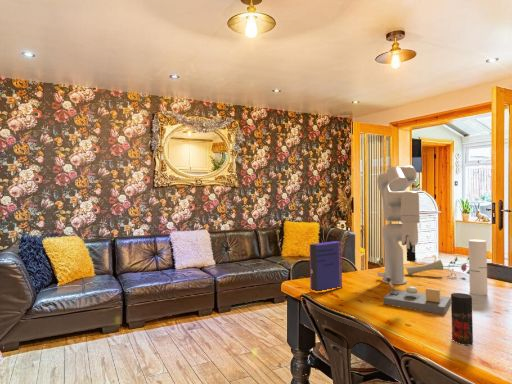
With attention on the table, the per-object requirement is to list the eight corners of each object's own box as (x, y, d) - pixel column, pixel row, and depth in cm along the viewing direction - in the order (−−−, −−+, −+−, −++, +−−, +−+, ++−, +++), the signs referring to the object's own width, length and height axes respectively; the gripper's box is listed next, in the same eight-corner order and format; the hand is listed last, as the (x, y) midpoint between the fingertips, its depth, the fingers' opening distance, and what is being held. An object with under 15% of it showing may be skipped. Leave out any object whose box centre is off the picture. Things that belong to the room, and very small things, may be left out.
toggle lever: (391, 291, 160) (384, 278, 161) (392, 290, 161) (386, 277, 163) (395, 290, 159) (388, 277, 160) (396, 289, 160) (390, 276, 162)
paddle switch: (426, 300, 148) (425, 288, 148) (427, 299, 150) (426, 287, 150) (439, 302, 145) (438, 290, 145) (440, 301, 147) (439, 289, 147)
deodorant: (448, 338, 119) (447, 293, 119) (464, 337, 119) (463, 292, 119) (459, 345, 113) (458, 298, 113) (477, 344, 113) (476, 297, 113)
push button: (405, 292, 155) (405, 288, 155) (407, 290, 158) (407, 285, 158) (416, 294, 152) (415, 289, 152) (418, 291, 156) (418, 287, 156)
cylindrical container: (490, 295, 165) (488, 241, 165) (473, 294, 166) (472, 241, 166) (483, 290, 172) (482, 239, 172) (467, 290, 173) (466, 239, 173)
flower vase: (410, 286, 210) (474, 275, 202) (413, 285, 199) (480, 273, 191) (404, 266, 215) (467, 254, 207) (406, 264, 203) (472, 252, 195)
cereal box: (335, 286, 187) (334, 240, 187) (342, 288, 183) (341, 241, 183) (310, 291, 177) (309, 244, 177) (317, 293, 173) (316, 245, 173)
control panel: (383, 304, 155) (383, 296, 155) (393, 295, 168) (393, 288, 168) (444, 314, 140) (444, 306, 140) (451, 304, 153) (450, 296, 153)
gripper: (405, 218, 164) (406, 257, 163) (396, 220, 152) (397, 263, 151) (423, 218, 159) (424, 259, 159) (415, 220, 147) (416, 264, 147)
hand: (411, 260), depth 155 cm, fingers closed
